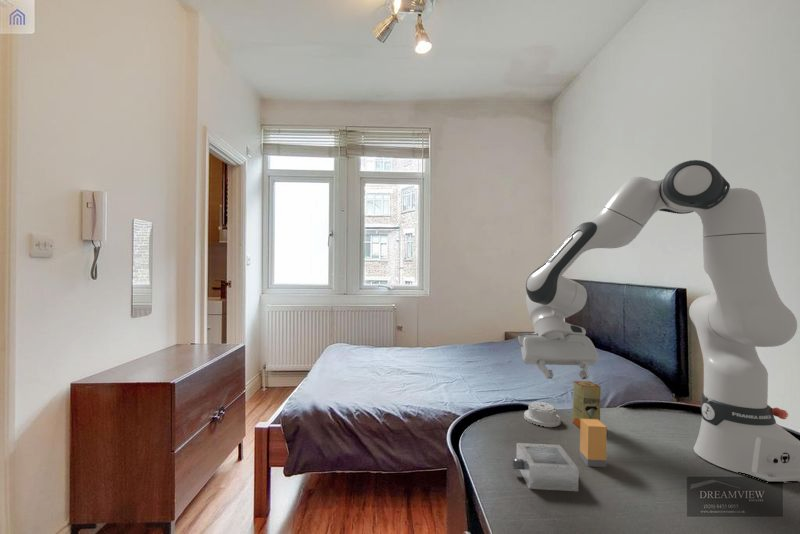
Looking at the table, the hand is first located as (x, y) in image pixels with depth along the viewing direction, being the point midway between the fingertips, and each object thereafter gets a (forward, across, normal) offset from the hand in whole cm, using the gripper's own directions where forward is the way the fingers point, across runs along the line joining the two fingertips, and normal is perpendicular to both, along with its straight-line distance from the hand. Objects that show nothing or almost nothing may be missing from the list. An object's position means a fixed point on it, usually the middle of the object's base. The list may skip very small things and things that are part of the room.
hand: (567, 378), depth 95 cm
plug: (+20, 0, +2) cm, 20 cm away
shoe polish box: (+7, +9, +15) cm, 19 cm away
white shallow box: (+24, -14, -2) cm, 27 cm away
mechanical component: (+4, -2, +19) cm, 19 cm away
